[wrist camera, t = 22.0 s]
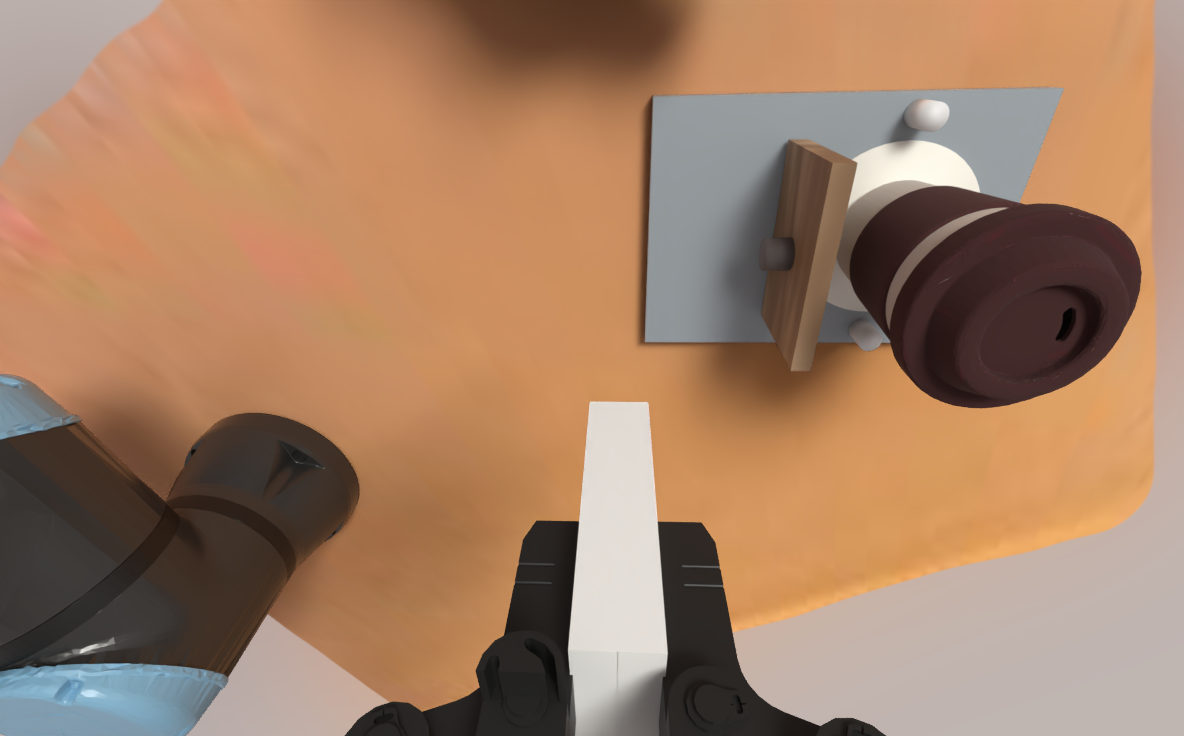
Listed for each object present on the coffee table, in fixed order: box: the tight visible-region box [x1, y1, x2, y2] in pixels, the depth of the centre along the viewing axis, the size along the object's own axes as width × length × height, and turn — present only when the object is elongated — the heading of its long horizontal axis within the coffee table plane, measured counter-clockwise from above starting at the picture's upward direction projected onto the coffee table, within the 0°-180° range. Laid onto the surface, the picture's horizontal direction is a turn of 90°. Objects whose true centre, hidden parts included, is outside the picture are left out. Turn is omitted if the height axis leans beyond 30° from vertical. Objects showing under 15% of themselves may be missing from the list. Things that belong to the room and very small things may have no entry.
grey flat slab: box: [644, 87, 1064, 351], centre depth 36 cm, size 24×17×3 cm
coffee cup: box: [836, 180, 1142, 408], centre depth 29 cm, size 10×10×15 cm
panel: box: [759, 139, 858, 371], centre depth 32 cm, size 3×12×8 cm, turn 1°
